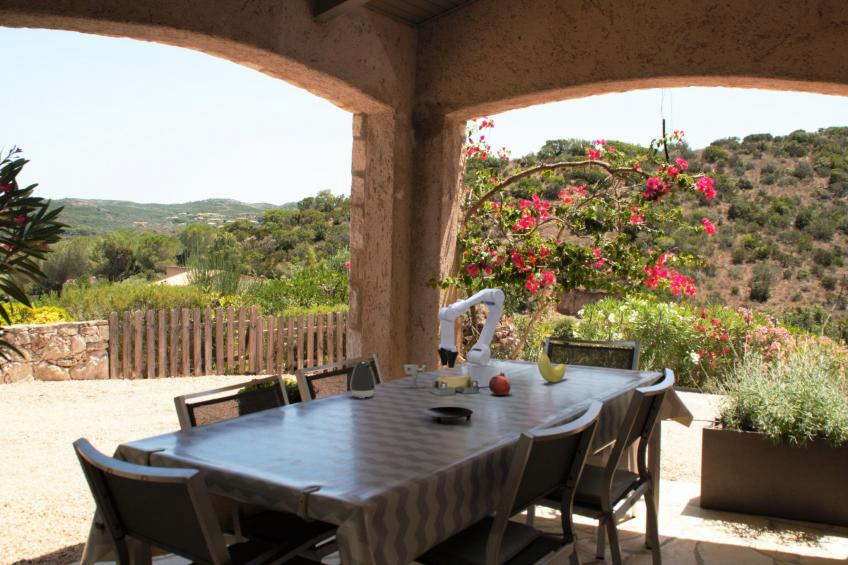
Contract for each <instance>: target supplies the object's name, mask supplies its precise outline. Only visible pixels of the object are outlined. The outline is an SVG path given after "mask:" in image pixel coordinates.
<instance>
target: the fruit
mask: <svg viewBox="0 0 848 565" xmlns="http://www.w3.org/2000/svg"><path fill="white" fill-rule="evenodd" d="M505 375H506V374H505V372H503V371H501V372H500V374H498V375H494V376H492V378H491V380H490V382H489V386H488V388H489V390H490V392H492V393H493V396H494V395H495V396H503V395H504V396H506V395H508V394H509V393H510V391H511V381H510V379H509V378H508V377H506V376H505Z"/></svg>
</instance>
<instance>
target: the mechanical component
mask: <svg viewBox="0 0 848 565" xmlns="http://www.w3.org/2000/svg"><path fill="white" fill-rule="evenodd" d="M409 368H410V370H409ZM402 370H404V373H405V374H406V375H411V378H412V388H413V389H417V380H418V375H423V374H424V373H425V370H427V365H424V364H422V367H421V368H420V367H419V364H404V365H402ZM419 371H422V372H419Z"/></svg>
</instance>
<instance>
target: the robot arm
mask: <svg viewBox="0 0 848 565" xmlns="http://www.w3.org/2000/svg"><path fill="white" fill-rule="evenodd" d="M505 298H506V296H505V294H504V291H503V290H502V289H500V288H489V287H488V288H487V287H486V288H484V289H481V290H479V291H478V292H477V293H475V294H474V295H472V296H470V297H469V298H467V299H459V298H458V299H456V301H455V302H454V303H452V304H451V303H450V304H448V306H447V307H446V306H444V307H441V309H440V310H439V312H438V314H437V315H438V316H437V317H438V319H439V321H440V343H439V345H438V348H439V349H436V351H437V353H438V356H439V359H440V363H441V366H448V368H449V369H454V368H455V363H456V359H457V358H458V355H459V353H460V352H459V351H457V347H456V345H455V321H456V320H457V318H458V317H459V316H461V315H463V314H464V313H467V312H468V311H469V308H470V307H472V306H474V305H476V304H479V303H481V302H483V304H484V305H486V307H487V308H488V310H489V312H488V314H487V317H486V320H485V322H484V323H483V324H484V325H483V327H482V330H481V333H480V335H479V338H478V340H477V342H476V343H475V344H473V345H472V346H471V349H469V351H468V353H467V355H466V360H467V362H468V363H469V366H470V367H469V369H470V372H469V373H470V374H469V376H471V381H473V380H476V381H478V387H479V388H482V387H483V388H485V387H486V388H487V387H489V382H490V380H491V378H492V377H493V369H492V366H491V365H490V364H489V363H490V361H491V349H490V344H491V342H492V340H493V338H494V335H495V332H496V329H497V327H498V324H499V322H500V319H501V317H502V314H503V311H504V301H505ZM488 364H489V365H488Z"/></svg>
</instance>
